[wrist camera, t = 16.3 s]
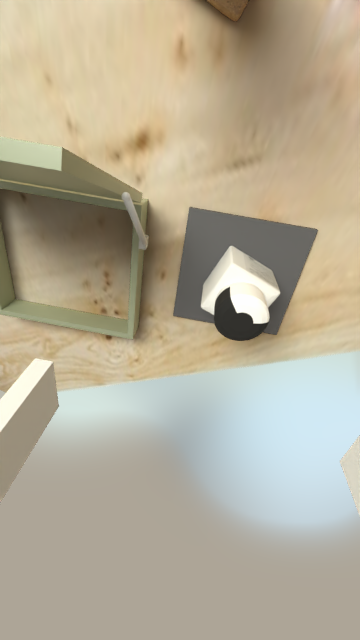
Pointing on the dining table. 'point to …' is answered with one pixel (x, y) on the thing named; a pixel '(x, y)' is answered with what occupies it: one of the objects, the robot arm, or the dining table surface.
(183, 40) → the dining table surface
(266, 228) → the mat
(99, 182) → the lid
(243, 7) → the candle holder
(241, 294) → the container
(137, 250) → the case
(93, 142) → the dining table surface
